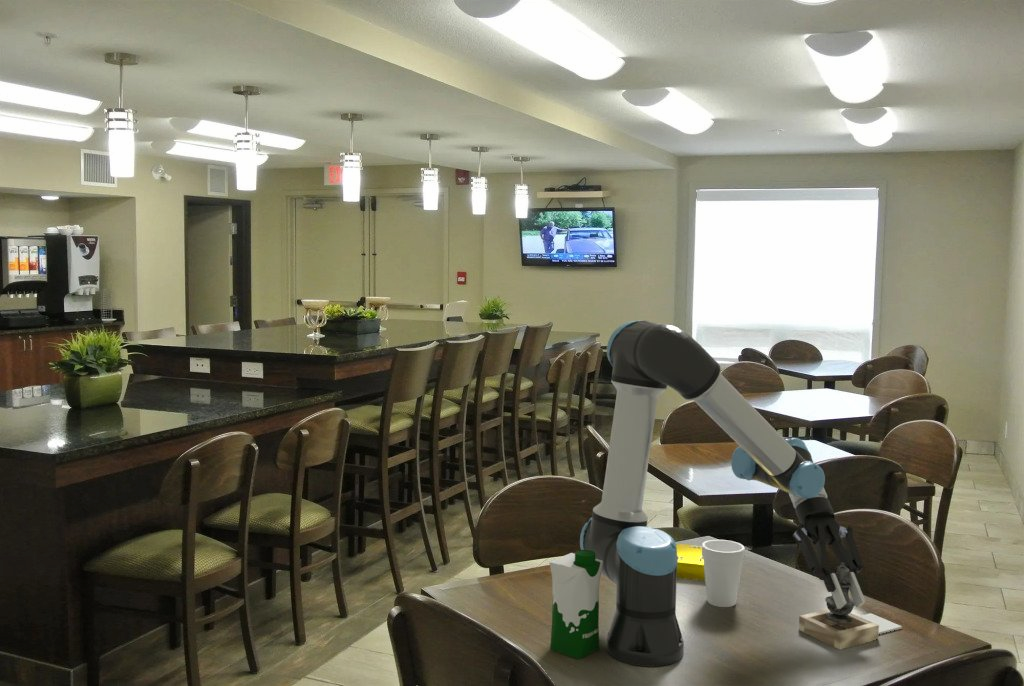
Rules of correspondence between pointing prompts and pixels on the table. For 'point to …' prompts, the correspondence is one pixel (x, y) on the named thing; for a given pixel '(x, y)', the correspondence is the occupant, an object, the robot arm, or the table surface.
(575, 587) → the milk carton
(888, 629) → the white mat
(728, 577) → the foam cup
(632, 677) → the table surface
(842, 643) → the wooden square frame
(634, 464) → the robot arm
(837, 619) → the dark chess piece
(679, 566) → the element tile
